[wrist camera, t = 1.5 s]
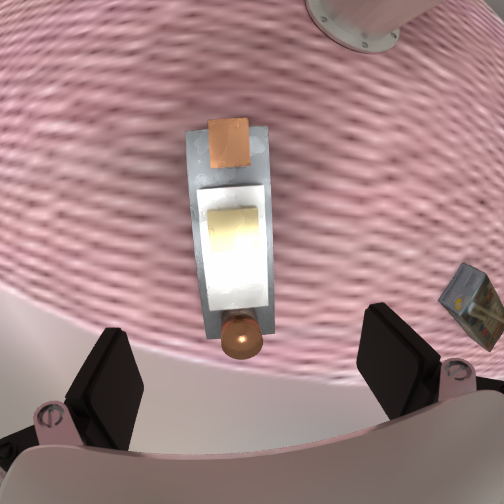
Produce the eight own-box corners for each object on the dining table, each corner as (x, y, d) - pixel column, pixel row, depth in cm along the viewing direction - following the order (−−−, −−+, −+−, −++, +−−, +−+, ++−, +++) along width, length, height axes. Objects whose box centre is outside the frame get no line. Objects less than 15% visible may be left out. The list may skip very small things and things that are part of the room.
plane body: (191, 137, 26) (169, 116, 15) (260, 132, 26) (285, 109, 15) (208, 317, 32) (204, 386, 21) (268, 312, 32) (288, 378, 21)
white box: (200, 187, 23) (195, 191, 19) (258, 183, 23) (266, 186, 19) (210, 295, 26) (209, 319, 22) (263, 291, 26) (271, 314, 22)
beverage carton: (462, 258, 34) (490, 272, 28) (492, 306, 39) (512, 321, 32) (435, 300, 35) (461, 319, 29) (471, 339, 40) (490, 355, 34)
